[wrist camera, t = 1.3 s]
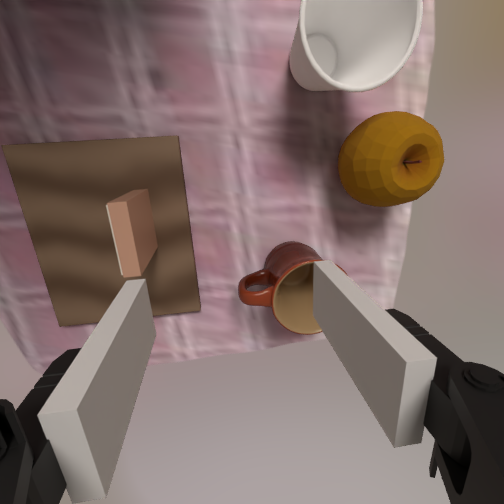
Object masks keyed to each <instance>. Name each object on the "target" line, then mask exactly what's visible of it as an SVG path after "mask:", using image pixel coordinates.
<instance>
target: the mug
mask: <svg viewBox="0 0 504 504" xmlns="http://www.w3.org/2000/svg"><path fill="white" fill-rule="evenodd" d="M314 261H324V260H323V259H322V258H321V257H320V256H319V255H318V254H317V253H316V252H315V250H313V249H312V248H311V247H309V246H307V245H305V244H302V243H300V242H295V241H290V242H285V243H282V244H280V245H278V246H276V247H275V248H274V249H273V250H272V251H271V252H270V253H269V255H268V256H267V258H266V262H265V269H262V270H259V271H257V272H254V273H252V274H249V275H247V276H245V277H243V278H242V279H241V280H240V282H239V285H238V295H239V298H240V300H241V301H242V302H243V303H244V304H247V305H252V306H265V307H272V310H273V314H274V316H275V318H276V319H277V321H278V322H279V323H280V324H281V325H282V326H283V327H285V328H286V329H288V330H289V331H292V332H294V333H298V334H305V335H308V334H316V333H320V332H323V331H322V329H321V328H320V326H319V324H318V323H317V321H316V320H315V318H314V316H313V272H314ZM335 265H336V264H335ZM336 266H337V267H338V268H340V269H341V270H342V271H343V272H344V273H345V274H346V272H345V271H344V270H343V269H342V268H341V267H339V266H338V265H336ZM346 275H347V274H346ZM347 276H348V275H347ZM253 285H266V286H268V288H266V289H264V290H262V291H255V292H254V291H248V290H247V288H249V287H250V286H253Z"/></svg>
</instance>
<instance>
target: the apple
mask: <svg viewBox="0 0 504 504" xmlns="http://www.w3.org/2000/svg"><path fill="white" fill-rule="evenodd" d="M443 163H444V153H443V145H442V139H441V137H440V135H439V133H438V131H437V130H436V129H435V128H434V126H433V125H431V124H429V123H428V122H426V121H425V120H424V119H422V118H421V117H419V116H416V115H413V114H410V113H407V112H399V111H394V112H384V113H380V114H377V115H374V116H372V117H370V118H368V119H366V120H365V121H364V122H362V123H361V124H360V125H358V126H357V127H356V128H355V129H354V130H353V131H352V132H351V133H350V135H349V136H348V137H347V138H346V140H345V141H344V143H343V145H342V147H341V150H340V153H339V156H338V171H339V177H340V180H341V183H342V185H343V187H344V189H345V190H346V192H347V193H348V194H349V195H350V196H351V197H352V198H354V199H356V200H357V201H359V202H361V203H364V204H368V205H372V206H379V207H387V206H394V205H399V204H403V203H407V202H411V201H414V200H417V199H418V198H419V197H421V196H422V195H423V194H425V193H426V192H427V191H429V190H430V189H431V188H432V186H433V185H434V183H435V182H436V181H437V179H438V178H439V176H440V173H441V170H442V166H443Z"/></svg>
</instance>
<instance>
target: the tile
mask: <svg viewBox="0 0 504 504" xmlns="http://www.w3.org/2000/svg"><path fill="white" fill-rule="evenodd" d="M106 208H107V212H108V217H109V221H110V226H111V230H112V235H113V239H114V244H115V248H116V253H117V257H118V262H119V266H120V270H121V275H123V277H124V278H125V277H135V276H141V275H142V274H143V272H144V270H145V268H146V267H147V265H148V263H149V261H150V260H151V258H152V256H153V254H154V253H155V251H156V249H157V247H158V244H157V238H156V233H155V227H154V221H153V215H152V209H151V204H150V198H149V192H148V189H140V190H133V191H130V192H128V193H126V194H124V195H122V196H120V197H118V198H116V199H114V200H112V201H110V202H108V203H107V205H106Z"/></svg>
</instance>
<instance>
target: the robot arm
mask: <svg viewBox="0 0 504 504" xmlns="http://www.w3.org/2000/svg"><path fill="white" fill-rule="evenodd" d="M313 316H314V318H315V320H316V321H317V323H318V324H319V326H320V328H321V329H322V331H323V333H324V334H325V336H326V338H327V339H328V341H329V342H330V344H331V346H332V347H333V349H334V351H335V352H336V354H337V355H338V357H339V359H340V360H341V362H342V363H343V365H344V367H345V368H346V370H347V372H348V373H349V375H350V376H351V378H352V380H353V381H354V383H355V385H356V386H357V388H358V390H359V391H360V393H361V394H362V396H363V397H364V399H365V401H366V402H367V404H368V406H369V407H370V409H371V411H372V412H373V414H374V416H375V417H376V419H377V420H378V422H379V424H380V425H381V427H382V428H383V430H384V432H385V433H386V435H387V437H388V438H389V440H390V442H391V443H392V445H393V447H394V448H395V447H401V446H406V445H412V444H418V443H421V441H422V436H423V431H424V426H425V427H426V428H427V429H428V431H429V432H430V433H431V434H432V436H433V437H434V439H435V443H434V448H433V452H432V457H431V462H430V467H429V471H430V477H433V478H435V475H436V471H437V466H438V468H439V470H440V473H441V476H442V479H443V482H444V485H445V488H446V491H447V494H448V497H449V500H450V503H451V504H504V374H503V373H501V372H499V371H498V370H495V369H493V368H491V367H488V366H486V365H483V364H478V363H473V362H464V361H462V360H461V359H460V358H459V357H457V356H456V355H455V354H454V353H453V352H451V351H450V350H449V349H448V348H446V346H444V345H443V344H442V343H441V342H439V341H438V340H437V339H436V338H435V337H433V336H432V335H429V332H427V331H426V330H425V329H424V328H423V327H420V325H419V324H418V323H417V322H416V321H414V320H413V319H412V318H411V317H410V316H408V315H406V314H404V313H402V312H400V311H398V310H395V309H388V310H384V309H383V308H382V307H381V306H380V305H379V304H378V303H377V302H376V301H374V300H373V299H372V298H371V297H370V296H369V295H368V294H367V293H366V292H365V291H364V290H362V289H361V288H360V287H359V286H358V285H357V284H356V283H355V282H354V281H353V280H352V279H350V278H349V277H348V276H347V275H346V274H345V273H344V272H343V271H342V270H341V269H340V268H338V267H337V266H336V265H335V264H334V263H333V262H332V261H331V260H324V261H314V272H313ZM155 337H156V330H155V325H154V320H153V315H152V309H151V304H150V299H149V294H148V289H147V284H146V279H138V280H128V281H126V282H125V284H124V285H123V287H122V288H121V290H120V291H119V293H118V294H117V296H116V297H115V299H114V300H113V302H112V303H111V305H110V306H109V308H108V309H107V311H106V312H105V314H104V315H103V317H102V319H101V320H100V322H99V323H98V325H97V326H96V328H95V329H94V331H93V332H92V334H91V335H90V337H89V338H88V340H87V341H86V343H85V344H84V346H83V347H82V348H78V349H70V350H67V351H66V352H65V353H63V354H62V355H61V356H59V357H58V358H57V359H56V360H54V361H53V362H52V363H51V365H50V366H49V367H48V369H47V370H46V371H45V373H44V374H43V377H42V378H40V380H39V381H38V382H37V383H36V384H35V386H34V389H32V390H31V391H30V393H29V394H28V395H27V396H26V398H25V399H24V400H23V402H22V403H21V404H20V406H19V407H18V408H17V410H16V411H15V409H14V406H13V404H12V403H11V402H9V401H8V400H6V399H0V504H59V502H60V500H61V498H62V495H63V493H64V491H65V489H67V491H68V493H69V496H70V498H71V501H72V503H78V502H85V501H90V500H96V499H101V498H106V496H107V493H108V490H109V487H110V484H111V480H112V477H113V474H114V471H115V467H116V464H117V461H118V458H119V454H120V451H121V448H122V444H123V441H124V438H125V435H126V431H127V428H128V425H129V422H130V419H131V415H132V412H133V409H134V405H135V402H136V399H137V396H138V392H139V389H140V386H141V383H142V379H143V376H144V373H145V370H146V366H147V363H148V360H149V357H150V353H151V350H152V347H153V344H154V340H155Z"/></svg>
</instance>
